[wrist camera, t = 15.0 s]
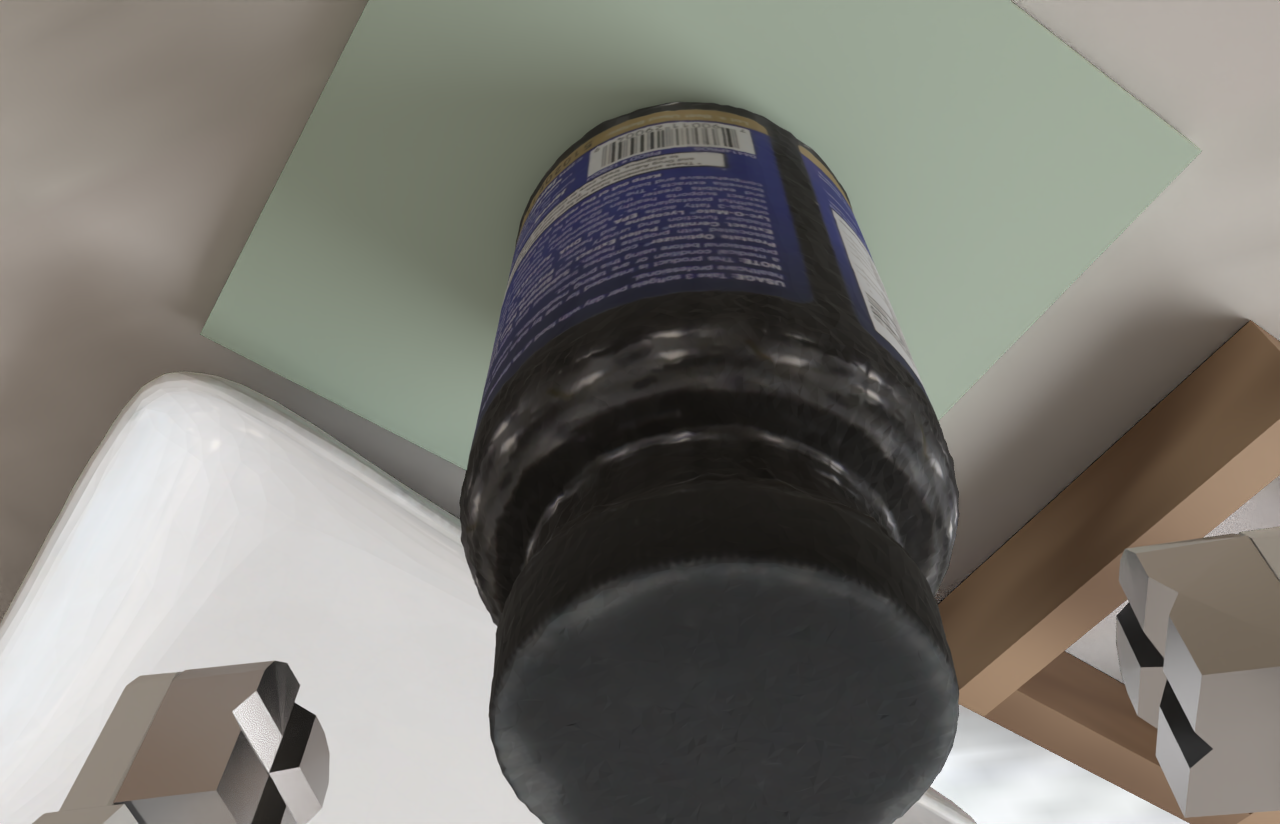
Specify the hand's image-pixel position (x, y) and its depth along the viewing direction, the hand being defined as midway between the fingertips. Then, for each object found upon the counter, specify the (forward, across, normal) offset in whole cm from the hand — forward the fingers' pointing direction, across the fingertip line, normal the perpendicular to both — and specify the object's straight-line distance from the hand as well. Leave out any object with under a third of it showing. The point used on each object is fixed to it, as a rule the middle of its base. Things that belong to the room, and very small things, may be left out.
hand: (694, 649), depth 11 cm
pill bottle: (+11, 0, +1) cm, 11 cm away
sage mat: (+11, 0, +1) cm, 11 cm away
